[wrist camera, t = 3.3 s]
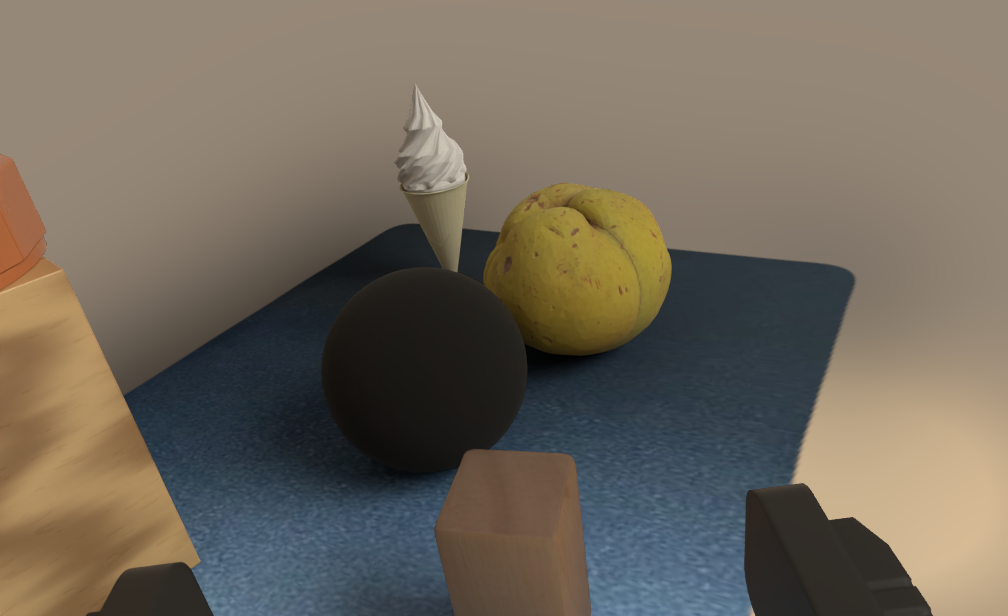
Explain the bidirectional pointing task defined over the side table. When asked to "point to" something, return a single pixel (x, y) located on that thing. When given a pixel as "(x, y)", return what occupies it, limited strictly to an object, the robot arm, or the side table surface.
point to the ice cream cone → (433, 180)
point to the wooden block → (514, 536)
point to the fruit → (579, 269)
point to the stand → (70, 461)
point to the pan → (17, 226)
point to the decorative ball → (424, 369)
